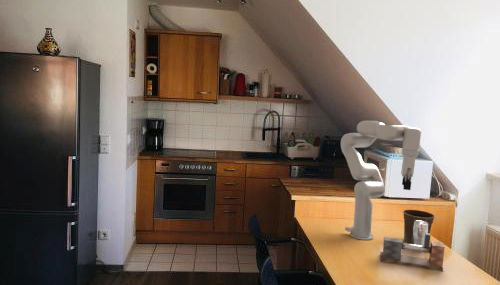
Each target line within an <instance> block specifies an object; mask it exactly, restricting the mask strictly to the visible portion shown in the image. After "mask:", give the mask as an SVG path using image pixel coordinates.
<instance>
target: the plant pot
mask: <svg viewBox="0 0 500 285" xmlns="http://www.w3.org/2000/svg"><path fill="white" fill-rule="evenodd" d="M402 213H403V222H404V224H403V225H404V226H403V232H404V233H403V240H404V241H405V242H406V243H407V244H414V238H413V227H414V221H416V220H420V221H425V222H427V223H428V233H430V234H431V229H432V225H433V223H434V219H435V218H436V216H435V214H433V213H431V212H428V211H424V210H420V209H404V210H403V211H402Z"/></svg>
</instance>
